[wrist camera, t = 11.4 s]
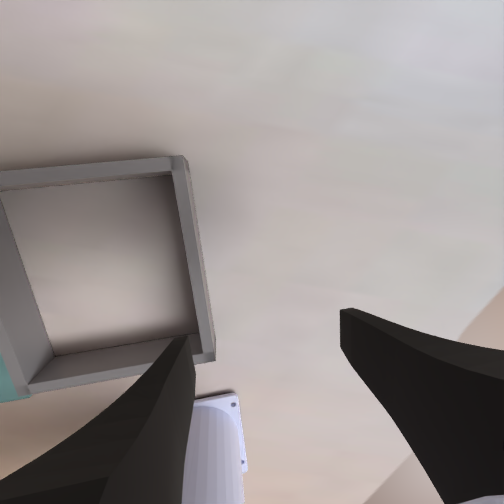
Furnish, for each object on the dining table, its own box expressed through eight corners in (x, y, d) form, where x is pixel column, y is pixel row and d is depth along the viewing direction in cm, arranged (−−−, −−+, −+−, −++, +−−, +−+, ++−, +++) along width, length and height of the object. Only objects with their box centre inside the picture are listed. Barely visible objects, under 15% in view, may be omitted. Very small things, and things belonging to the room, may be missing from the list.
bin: (215, 338, 21) (215, 360, 18) (47, 367, 20) (18, 396, 17) (187, 161, 18) (182, 155, 15) (-21, 180, 16) (-71, 177, 13)
